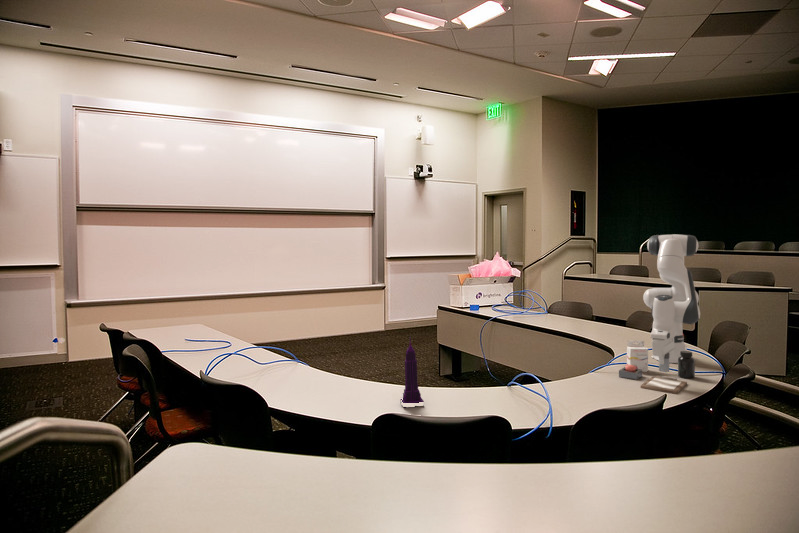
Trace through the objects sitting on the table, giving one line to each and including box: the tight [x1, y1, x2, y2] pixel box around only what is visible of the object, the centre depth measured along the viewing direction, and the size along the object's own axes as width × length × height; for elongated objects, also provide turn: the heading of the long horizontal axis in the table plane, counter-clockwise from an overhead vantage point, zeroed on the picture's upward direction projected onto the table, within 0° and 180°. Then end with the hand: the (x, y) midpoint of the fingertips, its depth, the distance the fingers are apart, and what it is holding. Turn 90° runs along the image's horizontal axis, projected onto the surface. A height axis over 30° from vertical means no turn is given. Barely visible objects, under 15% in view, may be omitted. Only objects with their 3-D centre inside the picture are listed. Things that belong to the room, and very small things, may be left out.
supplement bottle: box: [677, 350, 696, 380], centre depth 223 cm, size 7×7×12 cm
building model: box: [400, 337, 425, 403], centre depth 195 cm, size 9×6×30 cm
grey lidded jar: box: [658, 353, 670, 373], centre depth 210 cm, size 4×4×8 cm
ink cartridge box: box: [626, 340, 649, 373], centre depth 236 cm, size 9×5×15 cm, turn 84°
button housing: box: [618, 366, 643, 381], centre depth 226 cm, size 8×8×3 cm
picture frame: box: [640, 375, 688, 395], centre depth 211 cm, size 18×14×2 cm
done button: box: [624, 364, 636, 372], centre depth 226 cm, size 4×4×3 cm
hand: (664, 362), depth 210 cm, fingers closed on grey lidded jar, 4 cm apart
